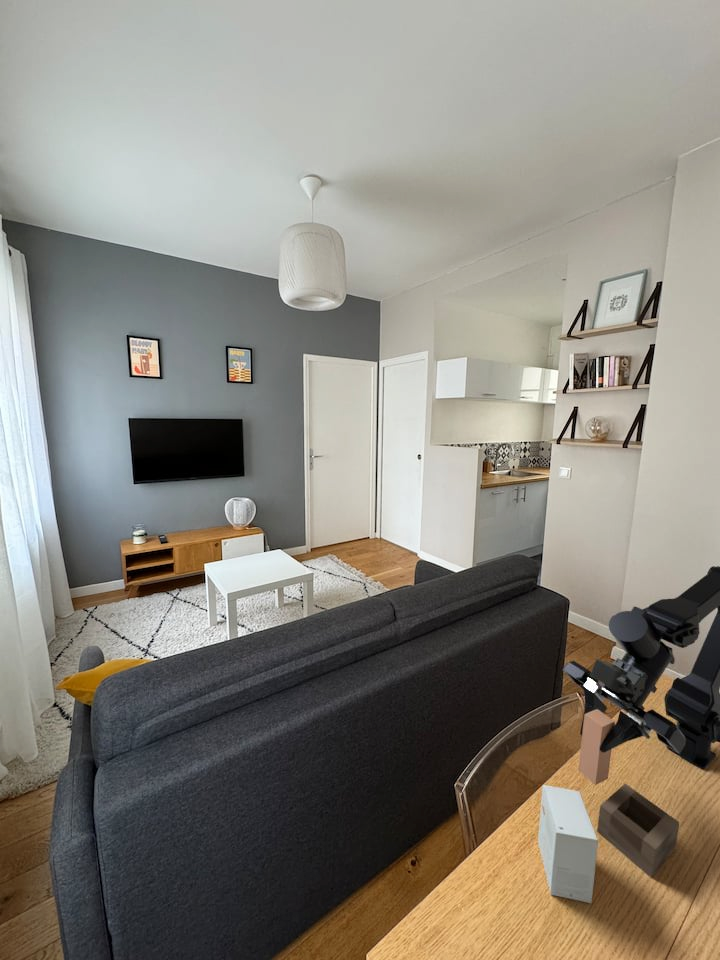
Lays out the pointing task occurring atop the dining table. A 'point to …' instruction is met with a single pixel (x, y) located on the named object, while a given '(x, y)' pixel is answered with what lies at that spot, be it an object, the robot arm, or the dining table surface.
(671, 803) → the dining table surface
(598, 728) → the peg
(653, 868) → the socket block
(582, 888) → the small box
